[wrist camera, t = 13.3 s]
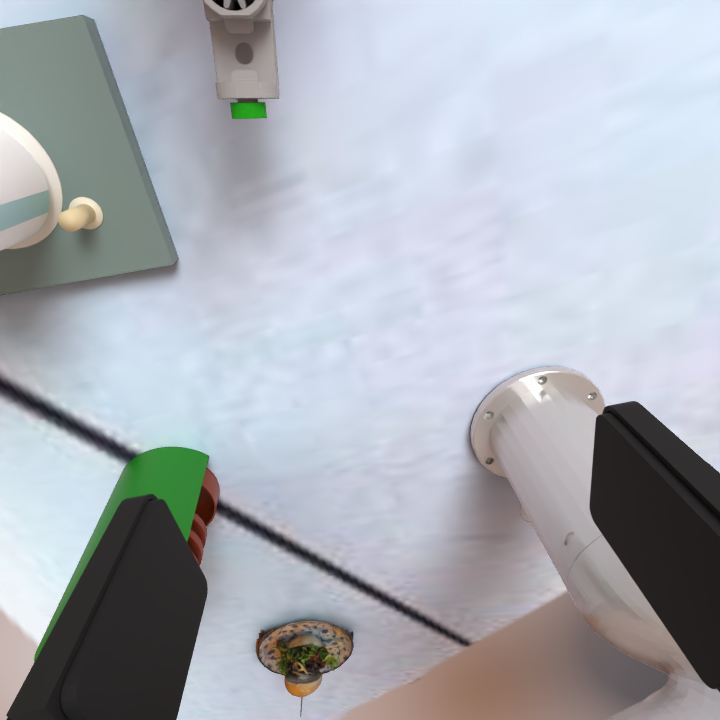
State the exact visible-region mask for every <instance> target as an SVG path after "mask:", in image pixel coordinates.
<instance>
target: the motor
mask: <svg viewBox="0 0 720 720" xmlns="http://www.w3.org/2000/svg"><path fill="white" fill-rule="evenodd" d="M208 459H209V456H208V455H206V454H204V453H202V452H199V451H196V450H192V449H188V448H182V447H163V448H157V449H153V450H149V451H146V452H144V453H142V454H140V455H138V456H136V457H135V458H134V459H132V460H131V461H130V462H129V463H128V464H127V465H126V467H125V468H124V470H123V472H122V474H121V476H120V478H119V480H118V482H117V484H116V486H115V488H114V490H113V492H112V494H111V497H110V499H109V501H108V503H107V505H106V507H105V509H104V511H103V513H102V515H101V517H100V520H99V522H98V524H97V526H96V528H95V530H94V532H93V534H92V536H91V538H90V540H89V542H88V545H87V547H86V549H85V551H84V553H83V555H82V557H81V559H80V561H79V563H78V565H77V568H76V570H75V572H74V574H73V576H72V578H71V580H70V582H69V584H68V586H67V588H66V590H65V593H64V595H63V597H62V599H61V601H60V603H59V605H58V607H57V609H56V611H55V613H54V616H53V618H52V620H51V622H50V624H49V626H48V628H47V630H46V632H45V634H44V636H43V638H42V641H41V643H40V645H39V647H38V649H37V651H36V654H35V659H34V662H35V661H36V659H37V657H38V655H39V653H40V652H41V650H42V648H43V646H44V644H45V642H46V640H47V639H48V637H49V635H50V633H51V631H52V629H53V627H54V625H55V624H56V622H57V620H58V618H59V616H60V614H61V612H62V611H63V609H64V607H65V605H66V603H67V601H68V599H69V597H70V596H71V594H72V592H73V590H74V588H75V586H76V584H77V583H78V581H79V579H80V577H81V575H82V573H83V571H84V570H85V568H86V566H87V564H88V562H89V560H90V558H91V556H92V555H93V553H94V551H95V549H96V547H97V545H98V543H99V542H100V540H101V538H102V536H103V534H104V532H105V530H106V528H107V527H108V525H109V523H110V521H111V519H112V517H113V515H114V514H115V512H116V510H117V508H118V506H119V504H120V503H121V502H122V500H124V499H126V498H132V497H137V496H142V495H147V494H154V495H155V496H156V497H157V498H158V499H163V500H165V502H166V503H167V505H168V507H169V509H170V511H171V513H172V515H173V517H174V519H175V521H176V522H177V524H178V526H179V528H180V530H181V532H182V534H183V536H184V538H185V540H186V542H187V544H188V545H189V547H190V549H191V551H192V553H193V555H194V557H195V559H196V561H197V563H198V565H199V566H200V563H201V560H202V555H203V548H204V545H205V541H206V536H207V529H206V526H207V525H208V524H209V523H210V522H211V521H212V519H213V518H214V515H215V512H216V507H217V502H218V497H219V491H220V490H219V483H218V481H217V479H216V477H215V476H214V474H213V473H212V472H211V471H210V470H209V469H208V468H206V467H207V463H208Z"/></svg>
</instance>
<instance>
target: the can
mask: <svg viewBox="0 0 720 720" xmlns="http://www.w3.org/2000/svg"><path fill="white" fill-rule="evenodd" d="M49 203H50V200H49V191H48V186H47V183H46V180H45V177H44V175H43V173H42V171H41V169H40V167H39V165H38V164H37V162H36V161H35V159H34V158H33V157H32V155H31V154H30V153H29V152H28V151H27V150H26V149H25V147H23V146H22V145H21V144H20V143H19V142H18V141H17V140H16V139H15V138H13V137H12V136H11V135H9V134H8V133H6V132H5V131H3V130H1V129H0V251H1V250H4V249H6V248H8V247H10V246H12V245H14V244H16V243H19V242H21V241H23V240H25V239H27V238H29V237H31V236H32V235H34V234H35V233H36V232H37V231H38V230H39V229H40V228H41V227H42V226H43V224H44V222H45V220H46V218H47V215H48V211H49Z"/></svg>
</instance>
